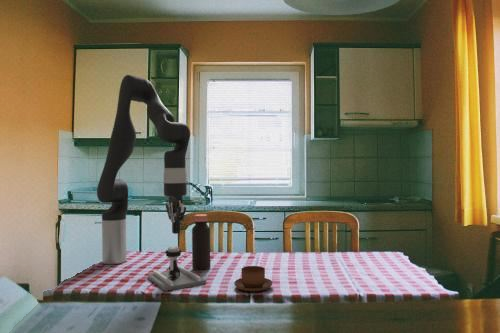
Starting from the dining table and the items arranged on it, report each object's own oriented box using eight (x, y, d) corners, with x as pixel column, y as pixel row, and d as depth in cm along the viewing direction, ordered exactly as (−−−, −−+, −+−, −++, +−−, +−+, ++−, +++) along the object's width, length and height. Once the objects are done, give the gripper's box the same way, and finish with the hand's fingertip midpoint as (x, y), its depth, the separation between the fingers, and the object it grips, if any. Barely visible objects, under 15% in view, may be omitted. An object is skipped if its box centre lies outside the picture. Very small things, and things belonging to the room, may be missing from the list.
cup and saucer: (228, 285, 127) (228, 266, 127) (262, 281, 132) (262, 262, 132) (243, 297, 116) (242, 276, 116) (279, 291, 121) (278, 271, 121)
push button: (176, 281, 127) (175, 250, 127) (160, 280, 128) (160, 250, 128) (184, 276, 133) (184, 246, 133) (169, 275, 134) (169, 245, 134)
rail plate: (147, 278, 135) (147, 271, 135) (185, 271, 143) (185, 265, 143) (165, 291, 121) (164, 283, 121) (206, 283, 128) (206, 276, 128)
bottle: (188, 269, 146) (188, 215, 146) (198, 265, 152) (197, 213, 152) (205, 271, 143) (204, 216, 143) (213, 266, 150) (213, 214, 150)
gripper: (193, 181, 128) (194, 234, 128) (178, 180, 139) (179, 229, 139) (171, 182, 124) (172, 237, 124) (157, 181, 135) (158, 231, 135)
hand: (176, 233), depth 132 cm, fingers closed
